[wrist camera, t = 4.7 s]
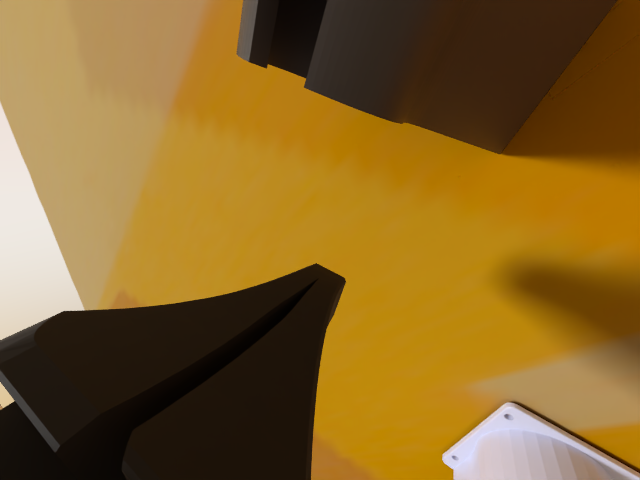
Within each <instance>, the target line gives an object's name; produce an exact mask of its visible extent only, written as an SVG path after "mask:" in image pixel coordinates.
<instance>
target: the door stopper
mask: <svg viewBox="0 0 640 480" xmlns="http://www.w3.org/2000/svg"><path fill="white" fill-rule="evenodd" d="M616 1H617V0H243V7H242V15H241V23H240V31H239V39H238V47H237V55H238V56H239V57H241V58H243V59H244V60H246V61H248V62H250V63H253V64H256V65H259V66H261V67H264V68H267V65H268V64H269V65H272V66H275V67H278V68H281V69H283V70H286V71H289V72H291V73H294V74H296V75H299V76H301V77H304V78H306V82H305V86H304V88H307V89H309V90H311V91H314V92H316V93H318V94H321V95H323V96H326V97H328V98H330V99H333V100H335V101H338V102H340V103H343V104H345V105H348V106H350V107H353V108H356V109H358V110H361V111H363V112H366V113H369V114H372V115H374V116H377V117H380V118H383V119H386V120H389V121H392V122H396V123H400V124H403V123H410V124H413V125H416V126H420V127H422V128H425V129H428V130H431V131H434V132H437V133H440V134H443V135H445V136H448V137H451V138H454V139H457V140H460V141H463V142H466V143H469V144H471V145H474V146H477V147H480V148H483V149H486V150H489V151H492V152H494V153H497V154H501V152H502V151H503V150H504V148H505V147H506V146H507V145H508V143H509V142H510V141H511V139H512V138H513V137H514V135H515V134H516V133H517V131H518V130H519V129H520V127H521V126H522V125H523V123H524V122H525V121H526V120H527V118H528V117H529V116H530V114H531V113H532V112H533V110H534V109H535V108H536V106H537V105H538V104H539V102H540V101H541V100H542V99H543V97H544V96H545V95H546V93H547V92H548V91H549V89H550V88H551V87H552V85H553V84H554V83H555V81H556V80H557V79H558V78H559V76H560V75H561V74H562V72H563V71H564V70H565V68H566V67H567V66H568V64H569V63H570V62H571V60H572V59H573V58H574V57H575V55H576V54H577V53H578V51H579V50H580V49H581V47H582V46H583V45H584V43H585V42H586V41H587V39H588V38H589V37H590V36H591V34H592V33H593V32H594V30H595V29H596V28H597V26H598V25H599V24H600V22H601V21H602V20H603V18H604V17H605V16H606V15H607V13H608V12H609V11H610V9H611V8H612V7H613V5H614V4H615V3H616Z"/></svg>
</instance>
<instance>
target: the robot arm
mask: <svg viewBox="0 0 640 480" xmlns="http://www.w3.org/2000/svg"><path fill="white" fill-rule="evenodd" d="M345 283H346V281H345V278H344V277H342V276H340V275H338V274H336V273H334V272H332V271H330V270H328V269H326V268H324V267H322V266H321V265H319V264H317V263H316V264H313V265H311V266H308V267H306V268H303V269H301V270H298V271H296V272H293V273H291V274H288V275H285V276H283V277H280V278H277V279H275V280H272V281H269V282H266V283H263V284H260V285H257V286H254V287H250V288H247V289H244V290H240V291H237V292H233V293H229V294H224V295H220V296H216V297H211V298H205V299H199V300H193V301H187V302H181V303H175V304H167V305H158V306H149V307H138V308H126V309H108V310H85V311H63V312H61V313H59V314H57V315H55V316H52V317H50V318H48V319H46V320H44V321H41V322H39V323H37V324H35V325H33V326H31V327H28V328H26V329H24V330H22V331H20V332H17V333H15V334H13V335H11V336H9V337H7V338H5V339H2V340H0V382H1V383H2V385H3V386H4V387H5V389H6V390H7V391H8V392H9V394H10V395H11V396H12V398H13V399H14V400H15V401H14V402H13V403H11V404H9V405H8V406H6V407H5V408H2V406H1V405H0V480H311V461H312V442H313V426H314V415H315V403H316V391H317V383H318V375H319V367H320V361H321V354H322V348H323V343H324V338H325V333H326V329H327V326H328V324H329V322H330V321H331V319H332V317H333V315H334V313H335V310H336V307H337V305H338V302H339V299H340V296H341V294H342V291H343V288H344V285H345ZM509 414H510V415H509ZM442 459H443V462H444V463H445V464H446V465H448V466H449V467H451V468H452V469H453V470H454V480H640V473H638V472H636V471H635V470H633V469H631V468H629V467H627V466H626V465H624V464H622V463H620V462H619V461H617V460H615V459H613V458H611V457H610V456H608V455H606V454H604V453H603V452H601V451H599V450H597V449H595V448H594V447H592V446H590V445H588V444H586V443H585V442H583V441H581V440H579V439H578V438H576V437H574V436H572V435H570V434H569V433H567V432H565V431H563V430H562V429H560V428H558V427H556V426H554V425H553V424H551V423H549V422H547V421H546V420H544V419H542V418H540V417H538V416H537V415H535V414H533V413H531V412H529V411H528V410H526V409H524V408H522V407H521V406H519V405H517V404H515V403H505V404H504V405H502V406H501V407H500V408H499V409H498V410H496V411H495V412H494V413H493V414H491V415H490V416H489V417H488V418H487V419H485V420H484V421H483V422H482V423H480V424H479V425H478V426H477V427H476V428H474V429H473V430H472V431H471V432H469V433H468V434H467V435H466V436H465V437H463V438H462V439H461V440H460V441H459V442H457V443H456V444H455V445H454V446H452V447H451V448H450V449H449V450H448V451H446V452H445V453H444V454H443V458H442Z"/></svg>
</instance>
